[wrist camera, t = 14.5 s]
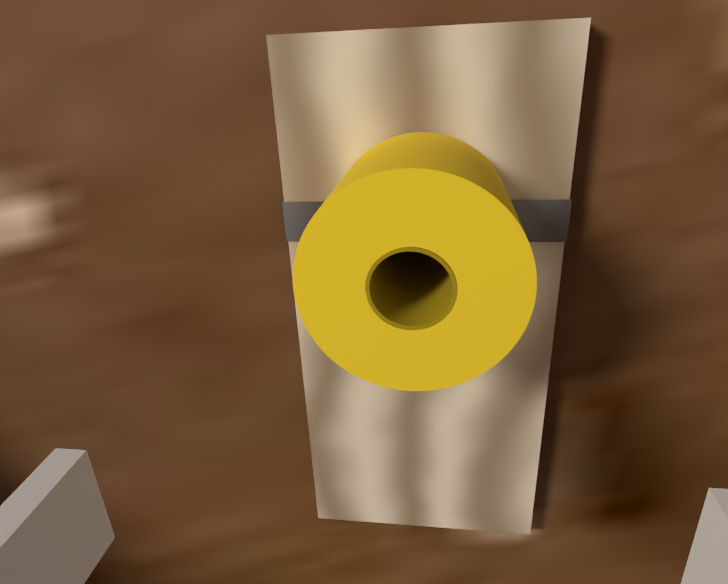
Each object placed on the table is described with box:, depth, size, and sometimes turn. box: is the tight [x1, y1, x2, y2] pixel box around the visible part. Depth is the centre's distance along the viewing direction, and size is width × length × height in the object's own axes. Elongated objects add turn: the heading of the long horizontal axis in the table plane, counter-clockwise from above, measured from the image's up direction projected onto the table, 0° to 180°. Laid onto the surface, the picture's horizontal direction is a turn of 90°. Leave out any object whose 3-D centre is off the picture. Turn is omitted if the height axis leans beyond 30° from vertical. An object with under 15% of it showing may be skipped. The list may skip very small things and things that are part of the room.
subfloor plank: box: [266, 18, 591, 534], centre depth 34 cm, size 16×34×2 cm, turn 3°
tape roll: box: [293, 132, 537, 391], centre depth 26 cm, size 10×10×9 cm
